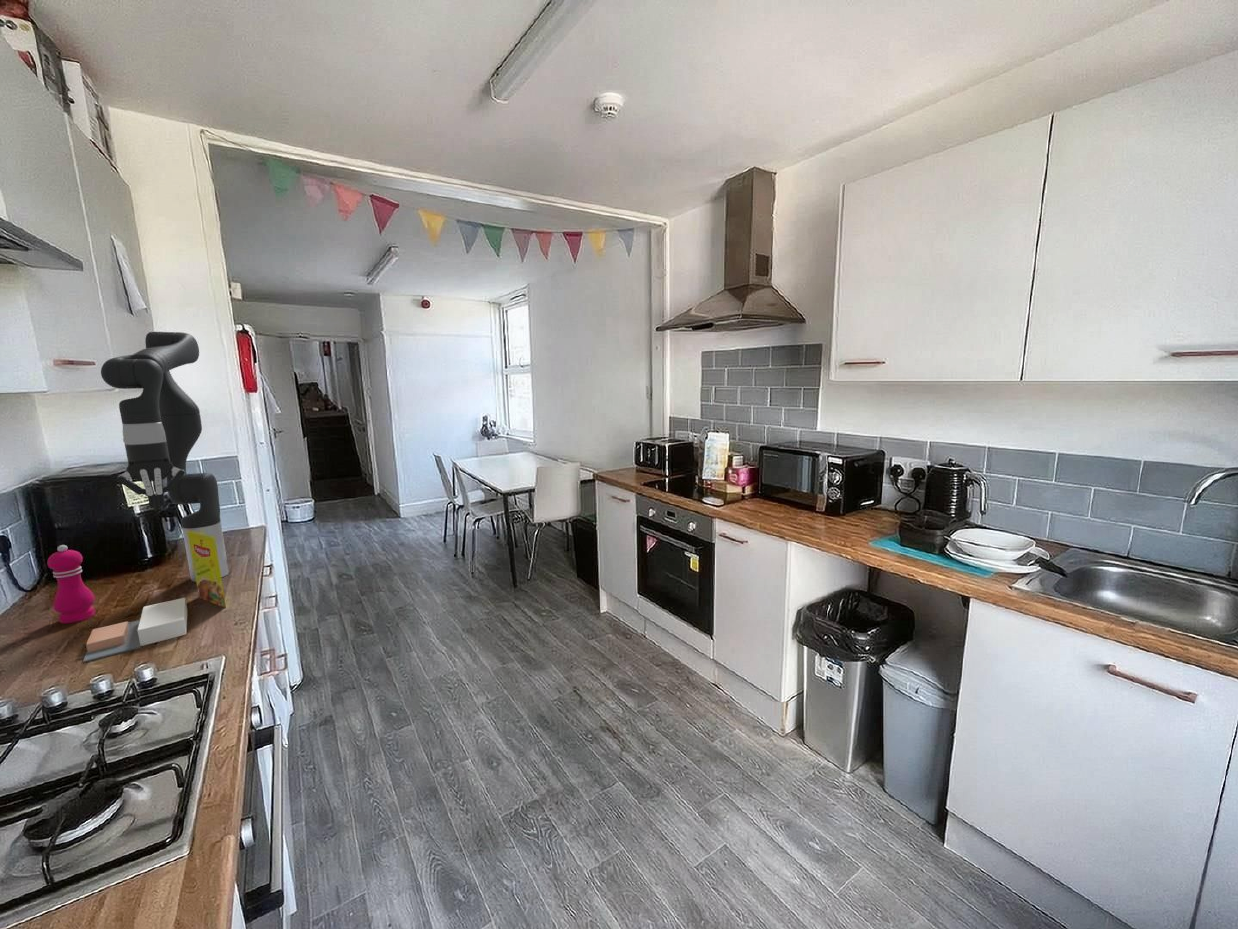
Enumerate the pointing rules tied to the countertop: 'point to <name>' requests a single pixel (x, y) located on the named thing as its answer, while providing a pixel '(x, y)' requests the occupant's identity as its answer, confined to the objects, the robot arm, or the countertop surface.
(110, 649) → the rubber mat
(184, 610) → the white box
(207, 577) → the food package
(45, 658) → the countertop surface
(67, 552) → the pepper mill
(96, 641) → the terracotta tile
